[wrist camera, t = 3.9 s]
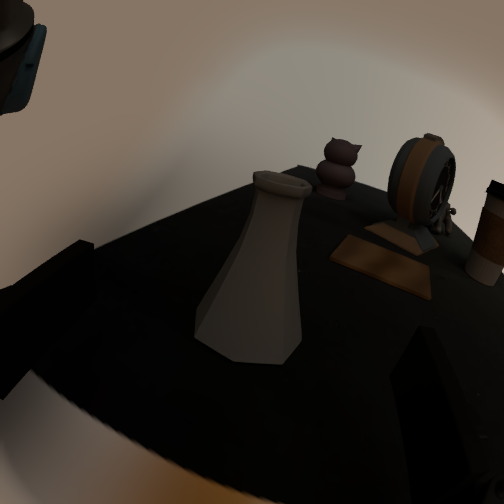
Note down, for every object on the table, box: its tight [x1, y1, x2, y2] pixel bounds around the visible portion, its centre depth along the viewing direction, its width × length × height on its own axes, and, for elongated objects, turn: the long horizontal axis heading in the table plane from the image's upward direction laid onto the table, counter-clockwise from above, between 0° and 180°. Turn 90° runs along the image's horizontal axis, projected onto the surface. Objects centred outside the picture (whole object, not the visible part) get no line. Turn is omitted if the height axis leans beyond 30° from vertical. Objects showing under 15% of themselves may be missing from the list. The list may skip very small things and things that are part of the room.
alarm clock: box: [364, 133, 456, 256], centre depth 44 cm, size 14×10×18 cm
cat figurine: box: [316, 138, 362, 200], centre depth 62 cm, size 8×8×12 cm
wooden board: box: [329, 235, 431, 301], centre depth 35 cm, size 12×10×1 cm
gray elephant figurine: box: [432, 202, 456, 235], centre depth 56 cm, size 9×12×8 cm
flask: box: [194, 171, 312, 364], centre depth 18 cm, size 7×7×10 cm
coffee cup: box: [465, 180, 504, 286], centre depth 36 cm, size 8×8×15 cm
